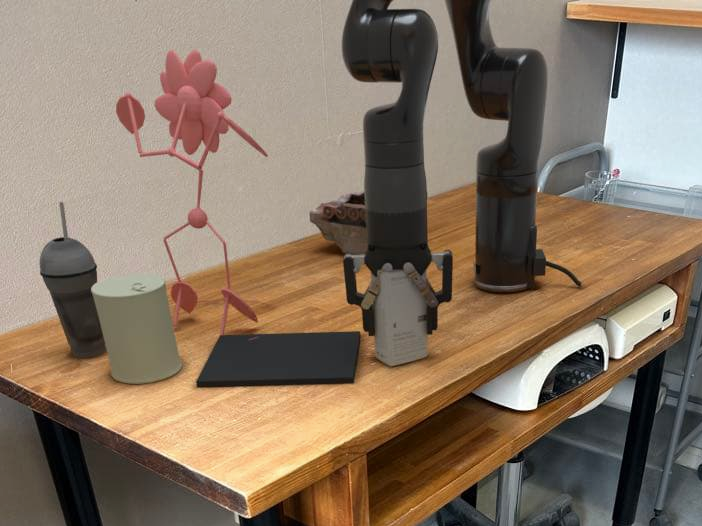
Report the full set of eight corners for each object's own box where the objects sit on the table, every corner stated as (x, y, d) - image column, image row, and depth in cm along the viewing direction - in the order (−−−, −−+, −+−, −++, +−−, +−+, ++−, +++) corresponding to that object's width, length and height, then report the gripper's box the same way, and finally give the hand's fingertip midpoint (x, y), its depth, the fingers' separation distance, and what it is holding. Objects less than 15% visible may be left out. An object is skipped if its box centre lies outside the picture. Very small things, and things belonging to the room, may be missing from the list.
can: (138, 390, 109) (116, 297, 102) (97, 372, 114) (74, 283, 107) (196, 366, 114) (179, 277, 107) (155, 351, 119) (136, 264, 113)
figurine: (264, 345, 117) (227, 51, 99) (130, 321, 129) (75, 54, 110) (329, 314, 128) (306, 44, 110) (200, 294, 140) (160, 48, 121)
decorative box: (382, 273, 145) (379, 213, 140) (296, 255, 155) (290, 199, 150) (427, 253, 154) (426, 197, 148) (343, 238, 164) (339, 184, 158)
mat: (360, 336, 121) (360, 330, 121) (353, 383, 108) (353, 377, 108) (220, 340, 122) (219, 334, 122) (196, 387, 109) (195, 381, 108)
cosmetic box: (391, 368, 112) (387, 275, 105) (373, 357, 115) (368, 267, 108) (430, 356, 114) (428, 265, 108) (411, 346, 118) (408, 257, 111)
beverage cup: (69, 343, 123) (30, 197, 112) (120, 340, 123) (87, 194, 112) (56, 363, 117) (14, 211, 106) (110, 360, 117) (74, 208, 106)
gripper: (334, 212, 101) (344, 345, 110) (456, 208, 100) (456, 342, 109) (339, 197, 107) (348, 325, 116) (454, 193, 106) (454, 322, 116)
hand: (400, 333), depth 113 cm, fingers closed on cosmetic box, 7 cm apart
